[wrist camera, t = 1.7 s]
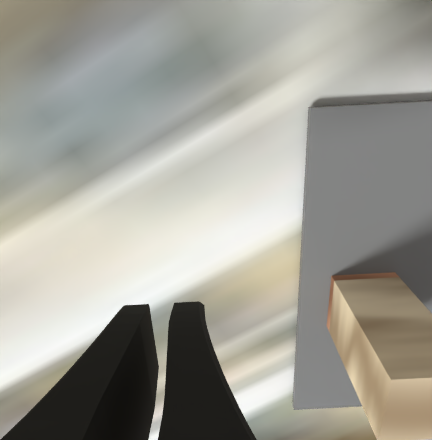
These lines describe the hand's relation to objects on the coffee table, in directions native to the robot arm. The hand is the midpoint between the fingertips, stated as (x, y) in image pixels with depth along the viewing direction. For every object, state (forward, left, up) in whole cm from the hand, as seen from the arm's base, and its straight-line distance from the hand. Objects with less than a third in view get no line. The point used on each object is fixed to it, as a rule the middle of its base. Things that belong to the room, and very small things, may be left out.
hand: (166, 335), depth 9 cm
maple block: (-7, -10, -10) cm, 15 cm away
